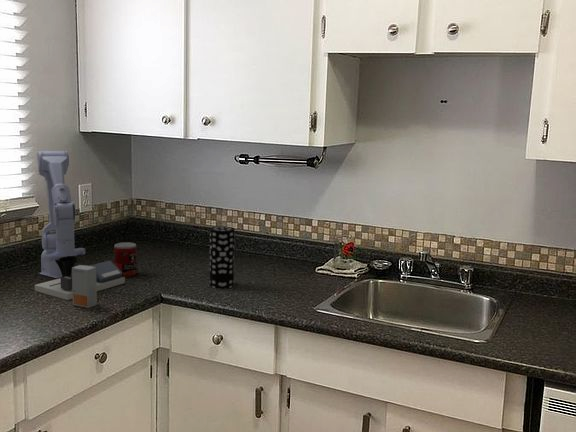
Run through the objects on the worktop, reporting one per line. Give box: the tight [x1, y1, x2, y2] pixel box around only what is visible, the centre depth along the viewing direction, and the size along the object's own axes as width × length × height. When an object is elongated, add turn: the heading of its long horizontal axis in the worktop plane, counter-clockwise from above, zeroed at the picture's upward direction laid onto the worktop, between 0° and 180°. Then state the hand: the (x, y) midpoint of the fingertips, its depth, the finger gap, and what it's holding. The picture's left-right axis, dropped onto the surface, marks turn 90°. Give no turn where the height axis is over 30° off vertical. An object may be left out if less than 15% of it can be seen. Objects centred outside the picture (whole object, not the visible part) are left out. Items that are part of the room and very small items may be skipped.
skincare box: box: [72, 264, 98, 309], centre depth 188 cm, size 6×4×12 cm
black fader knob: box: [60, 276, 72, 290], centre depth 197 cm, size 4×2×4 cm
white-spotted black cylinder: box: [209, 225, 235, 290], centre depth 212 cm, size 8×8×20 cm
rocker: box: [89, 260, 122, 282], centre depth 211 cm, size 7×9×2 cm
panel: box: [34, 276, 126, 301], centre depth 207 cm, size 16×24×4 cm, turn 148°
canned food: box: [113, 241, 138, 278], centre depth 223 cm, size 8×8×11 cm
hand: (66, 278), depth 206 cm, fingers closed
